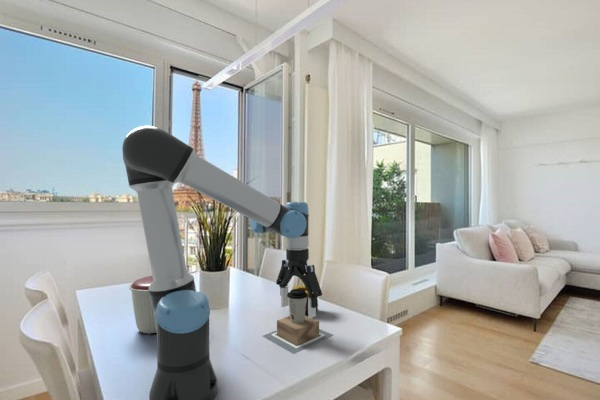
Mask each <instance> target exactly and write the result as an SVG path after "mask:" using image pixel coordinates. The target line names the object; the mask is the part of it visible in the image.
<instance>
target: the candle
mask: <svg viewBox="0 0 600 400" xmlns="http://www.w3.org/2000/svg"><path fill="white" fill-rule="evenodd" d="M293 289H303V290H305V292H306V293H307V295H308V296H307V302H306V311H305V315H306V316H308V297H310V295H309V293H308V291H307V289H306V287H305V285H294V286H293V288H292V289H291V290H293ZM312 293H313V292H312ZM318 301H319V300H318V299H317V307H316V313H318V311H319V309H318V308H319V307H318V306H319V302H318ZM313 319H315V317H313Z"/></svg>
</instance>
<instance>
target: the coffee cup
mask: <svg viewBox="0 0 600 400" xmlns="http://www.w3.org/2000/svg"><path fill="white" fill-rule="evenodd" d="M292 289H293V288H292ZM292 289H290V291H288V294H287V297H288V303H289V305H288V308H289V309H288V310H289V311H288V312H289V316H290V319H291V322H292V323H296V324H299V323H303V322H304V319H305V311H306V302H307V296H308V295H307V293H306V292H305V290H303V289H293V290H292Z"/></svg>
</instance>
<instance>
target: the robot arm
mask: <svg viewBox="0 0 600 400" xmlns="http://www.w3.org/2000/svg"><path fill="white" fill-rule="evenodd" d="M121 149H122V159H123V162H124V165H125V166H124V167H125V172H126V176H127V180H128V186H129V188H130V189H132V190H133V191H134V192H136V194H137V199H138V204H139V210H140V215H141V221H142V225H143V230H144V231H143V232H144V236H145V242H146V247H147V253H148V257H149V263H150V264H149V265H150V270H151V276H152V275H153V282H152V283H151V285H150V286H149V294H150V299H151V305H152V307H151V308H152V314H153V317H154V321H155V326H156V331H157V334H156V357H157V358H156V359H157V360H156V363H157V367H156V371H155V374H154V377H153V381H152V383H151V384H152V385H151V387H150V390H149V394H148V400H214V399H215V398H216V396H217V393H218V378H217V375H216V372H215V369H214V367H213V364H212V362H211V359H210V315H211V307H210V304H209V299H208V297H207V295H206V294H204V293H203V292H201V291H197V290H196V289H197V288H196V283H195V277H194V275H193V274H191V273H190V272H188V270H187V265H186V260H185V255H184V254H185V252H184V249H183V242H182V237H181V233H180V226H179V219H178V213H177V209H176V203H175V197H174V191H173V186H175V184H177V183H181V184H183V185H185V186H186V187H188V188H191V189H192V190H194V191H196V192H198V193H200V194H202V195H204V196H205V197H208V198H210V199H212V200H214V201H215V202H217V203H219V204H221V205H223V206H225V207H227V208H228V209H231V210H232V211H235V212H237V213H239V214H241V215H242V216H244V217H245V218H248V219H250V222H249V223H250V228H251V230H252V231H253V233H255V234H264V233H265V234H266V233H269V234H273V235H277V236H281V237H285V247H286V250H285V251H286V252H285V259H283V260H281V266H280V270H279V271H278V272H279V273H278V275H277V278H276V282H275V283H276V285H277V286H278V287H279V288H280V301H281V302H280V304H281V305H280V307H281V308H285V307H289V303H288V297H287V294H288V293H289V285H288V284H289V283H290V282H291V280H292V278H293V277H297V278H299V279H300V280H301V282H302V283H303V286H305V287H306V289H307V291H308V293H309V295H310V297H308V318H313V317H314V318H315V317H317V312H316V307H317V300H318V297H321V296H323V292H322V289H321V286H320V283H319V280H318V277H317V274H316V268H315V265H314V264H311V265H308V260H309V259H310V255H309V254H310V252H309V251H310V250H309V217H310V213H309V205H308V203H307V202H306V201H305V202H304V201H292V202H291V201H290V202H289V201H287V202H286V203H285V205H283V204H282V203H281V204H280V203H279V202H278V201H276V200H274V199H273V198H271V197H269V196H268V195H266V194H264V193H263V192H261V191H259V190H257V189H256V188H254V187H252V186H250V185H249V184H247V183H245V182H243V181H242V180H240V179H238V178H236V177H235V176H233V175H231V174H230V173H228V172H226V171H224V170H223V169H221V168H219V167H217V166H216V165H214V164H212V163H211V162H210V161H208V160H205V158H203V157H200V156H199V155H197V153H196V150H195V149H194V148H193V147H191V146H190V145H188V144H186V143H185V142H184V141H182V140H180V139H179V138H177V137H176V136H174V135H173V134H171V133H169V132H167V131H166V130H164V129H162V128H160V127H156V126H152V125H143V126H139V127H136V128H134V129H133V130H131V131H130V132H128V133H127V135H126V136H125V138H124V140H123V143H122V147H121ZM312 292H313V293H312ZM314 318H313V319H314Z"/></svg>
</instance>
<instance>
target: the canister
mask: <svg viewBox="0 0 600 400" xmlns="http://www.w3.org/2000/svg"><path fill="white" fill-rule="evenodd" d="M152 282H153V275H152V274H151V275H149V276H144V277H141V278H138V279H136V280H135V281H133V282H132V283H130V284H129V286H128V288H129V290H130V291H131V298H132V306H133V314H134V319H135V326H136V328H137V330H138V331H139V332H140V331H141V332H140V333H142V332H143V333H142V334H145V333H157V331H156V326H155V321H154V317H153V314H152V308H151V307H152V305H151V299H150V294H149V286H150V285H151V283H152Z"/></svg>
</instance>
